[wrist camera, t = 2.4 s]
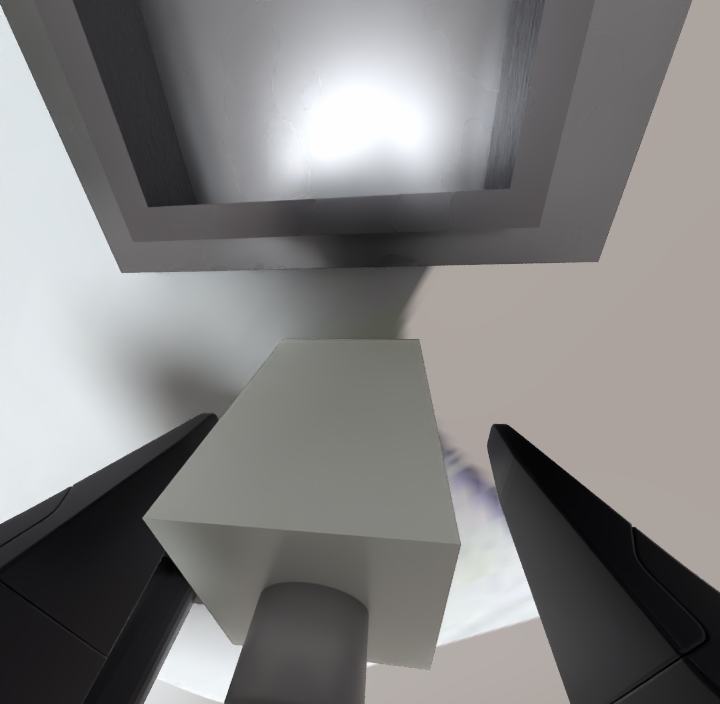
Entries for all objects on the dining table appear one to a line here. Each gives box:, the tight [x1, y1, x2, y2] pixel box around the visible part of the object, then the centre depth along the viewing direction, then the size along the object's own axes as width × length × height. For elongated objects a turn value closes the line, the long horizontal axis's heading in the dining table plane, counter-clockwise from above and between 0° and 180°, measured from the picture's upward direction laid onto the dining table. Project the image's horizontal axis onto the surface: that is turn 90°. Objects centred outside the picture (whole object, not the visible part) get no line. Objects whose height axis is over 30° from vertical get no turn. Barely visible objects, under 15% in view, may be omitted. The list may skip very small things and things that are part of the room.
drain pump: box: [143, 339, 461, 704], centre depth 7 cm, size 5×4×7 cm
